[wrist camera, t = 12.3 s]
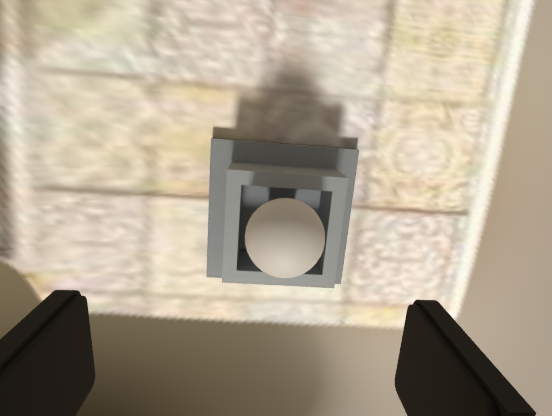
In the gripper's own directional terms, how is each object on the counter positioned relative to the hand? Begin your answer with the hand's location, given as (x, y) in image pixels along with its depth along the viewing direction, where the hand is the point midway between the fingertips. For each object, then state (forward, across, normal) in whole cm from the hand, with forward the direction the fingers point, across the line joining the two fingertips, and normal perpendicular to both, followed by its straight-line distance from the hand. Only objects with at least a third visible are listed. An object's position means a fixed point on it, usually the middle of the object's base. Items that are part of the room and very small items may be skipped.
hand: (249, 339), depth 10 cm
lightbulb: (+25, -2, +4) cm, 25 cm away
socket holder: (+25, -2, +4) cm, 26 cm away
